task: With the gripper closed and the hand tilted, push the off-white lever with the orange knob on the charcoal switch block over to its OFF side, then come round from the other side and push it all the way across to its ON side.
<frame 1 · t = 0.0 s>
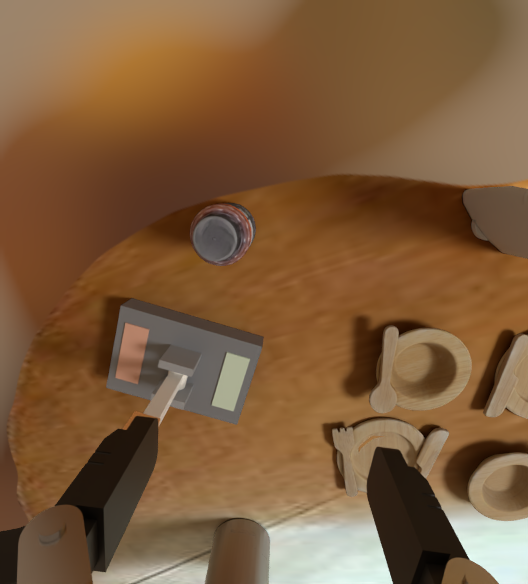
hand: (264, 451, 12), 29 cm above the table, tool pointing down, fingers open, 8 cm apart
tableware set: (457, 414, 45), on the table
tall pale column: (488, 222, 37), on the table
breaker lever: (161, 402, 34), point 10 cm above the table, hinge at 0.0°
supplement bottle: (232, 228, 39), on the table
switch block: (188, 356, 43), on the table
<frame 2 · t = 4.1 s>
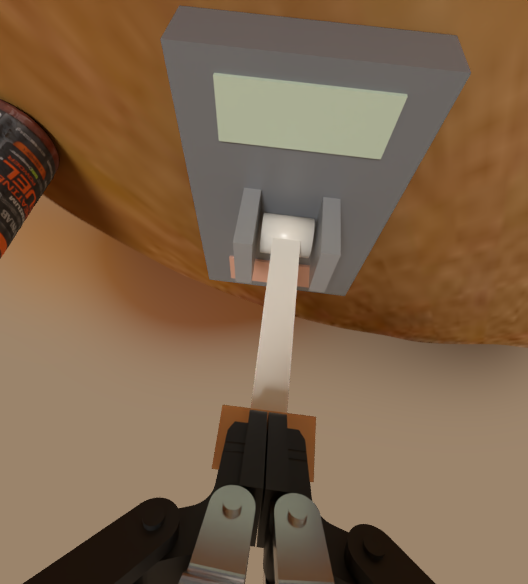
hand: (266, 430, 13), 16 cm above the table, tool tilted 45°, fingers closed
breaker lever: (277, 322, 17), point 10 cm above the table, hinge at -1.3°, touching gripper
supplement bottle: (14, 133, 21), on the table
switch block: (291, 183, 22), on the table
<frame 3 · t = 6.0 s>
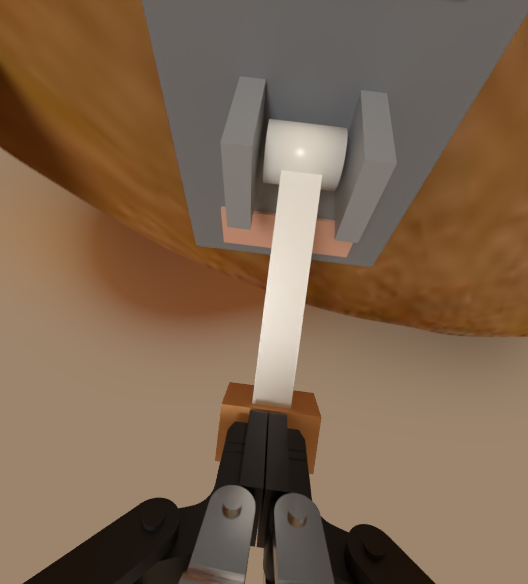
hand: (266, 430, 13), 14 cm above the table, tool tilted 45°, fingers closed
breaker lever: (284, 295, 13), point 9 cm above the table, hinge at -34.3°, touching gripper
switch block: (308, 95, 15), on the table
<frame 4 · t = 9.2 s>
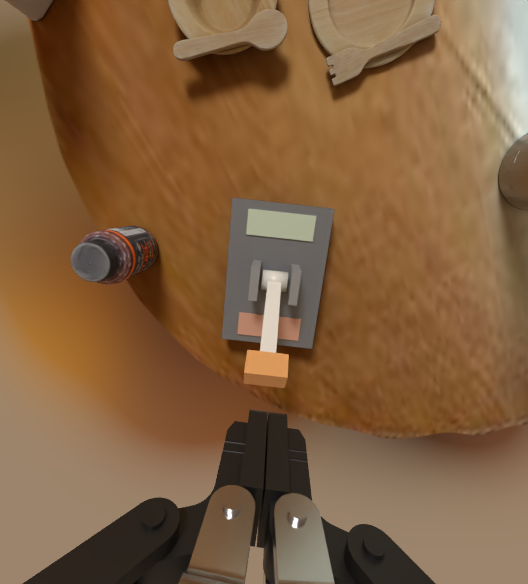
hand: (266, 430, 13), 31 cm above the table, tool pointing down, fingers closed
breaker lever: (270, 320, 34), point 9 cm above the table, hinge at -34.3°
supplement bottle: (138, 247, 42), on the table
switch block: (274, 272, 42), on the table
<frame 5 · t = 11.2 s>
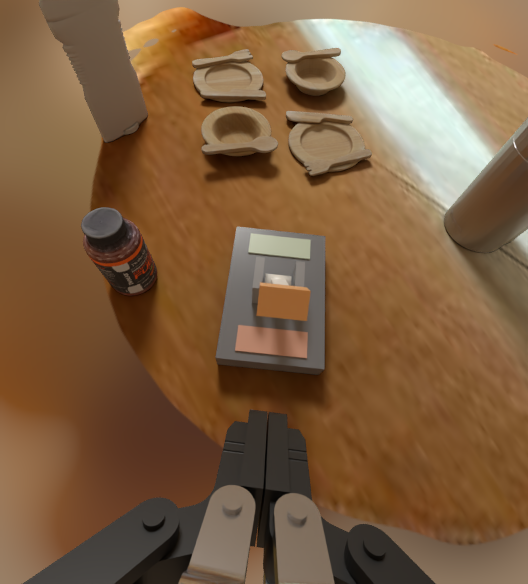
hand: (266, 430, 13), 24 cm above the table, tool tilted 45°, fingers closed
tableware set: (275, 115, 59), on the table
tall pale column: (126, 127, 55), on the table
breaker lever: (279, 291, 32), point 9 cm above the table, hinge at -34.3°
supplement bottle: (136, 277, 42), on the table
switch block: (274, 300, 41), on the table
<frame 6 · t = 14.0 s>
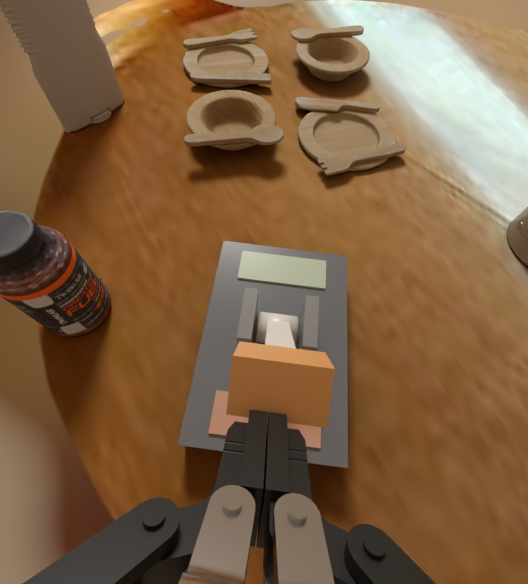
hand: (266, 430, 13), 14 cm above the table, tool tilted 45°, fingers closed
tableware set: (281, 103, 48), on the table
tall pale column: (96, 116, 44), on the table
breaker lever: (277, 347, 19), point 9 cm above the table, hinge at -32.9°, touching gripper
supplement bottle: (82, 310, 30), on the table
switch block: (273, 347, 29), on the table
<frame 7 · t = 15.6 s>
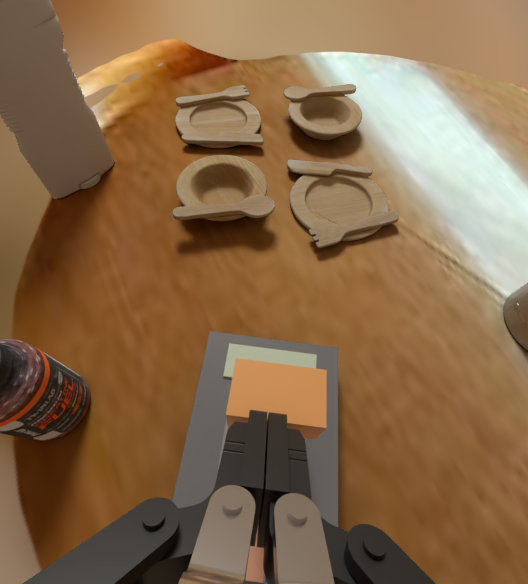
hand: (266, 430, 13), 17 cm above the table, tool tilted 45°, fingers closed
tableware set: (274, 163, 48), on the table
tall pale column: (85, 180, 43), on the table
breaker lever: (267, 427, 19), point 10 cm above the table, hinge at 4.5°, touching gripper
supplement bottle: (59, 405, 29), on the table
switch block: (260, 449, 27), on the table
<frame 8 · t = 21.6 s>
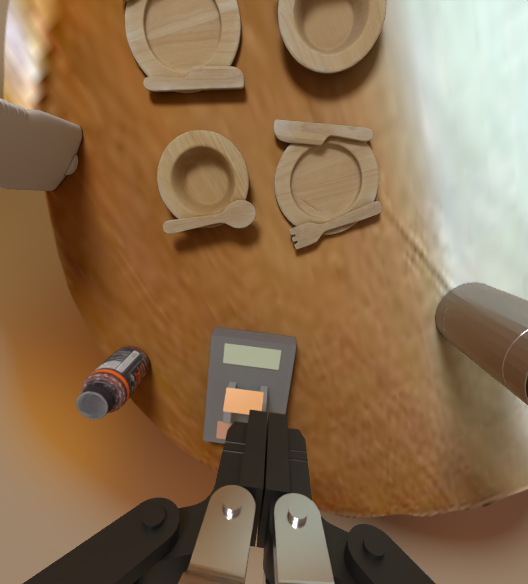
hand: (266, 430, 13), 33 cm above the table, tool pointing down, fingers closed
tableware set: (260, 110, 40), on the table
tall pale column: (64, 159, 42), on the table
breaker lever: (245, 401, 40), point 9 cm above the table, hinge at 35.5°
supplement bottle: (133, 361, 50), on the table
switch block: (249, 384, 50), on the table
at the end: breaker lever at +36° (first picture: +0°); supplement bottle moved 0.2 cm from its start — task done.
